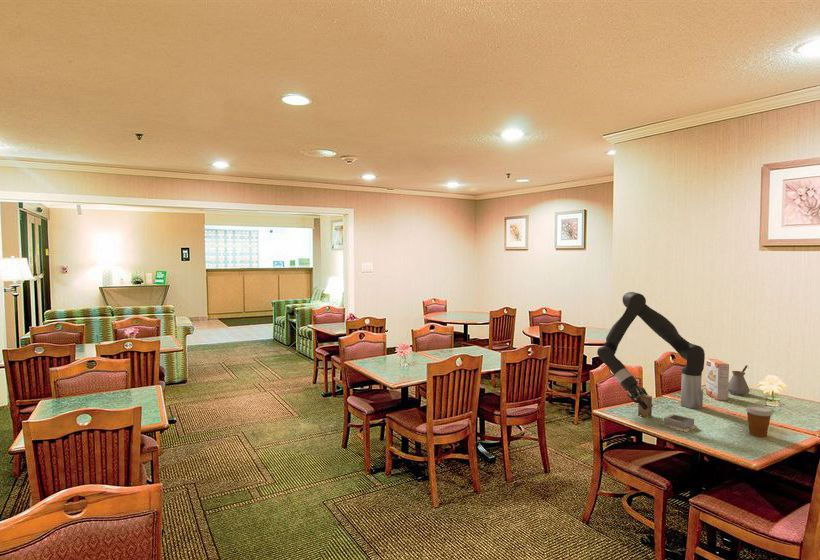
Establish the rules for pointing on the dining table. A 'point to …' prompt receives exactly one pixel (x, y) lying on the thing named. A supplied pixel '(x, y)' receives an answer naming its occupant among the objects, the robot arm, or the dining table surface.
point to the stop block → (648, 402)
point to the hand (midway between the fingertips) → (648, 408)
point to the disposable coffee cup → (758, 420)
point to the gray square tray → (679, 422)
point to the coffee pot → (738, 383)
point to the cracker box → (717, 379)
